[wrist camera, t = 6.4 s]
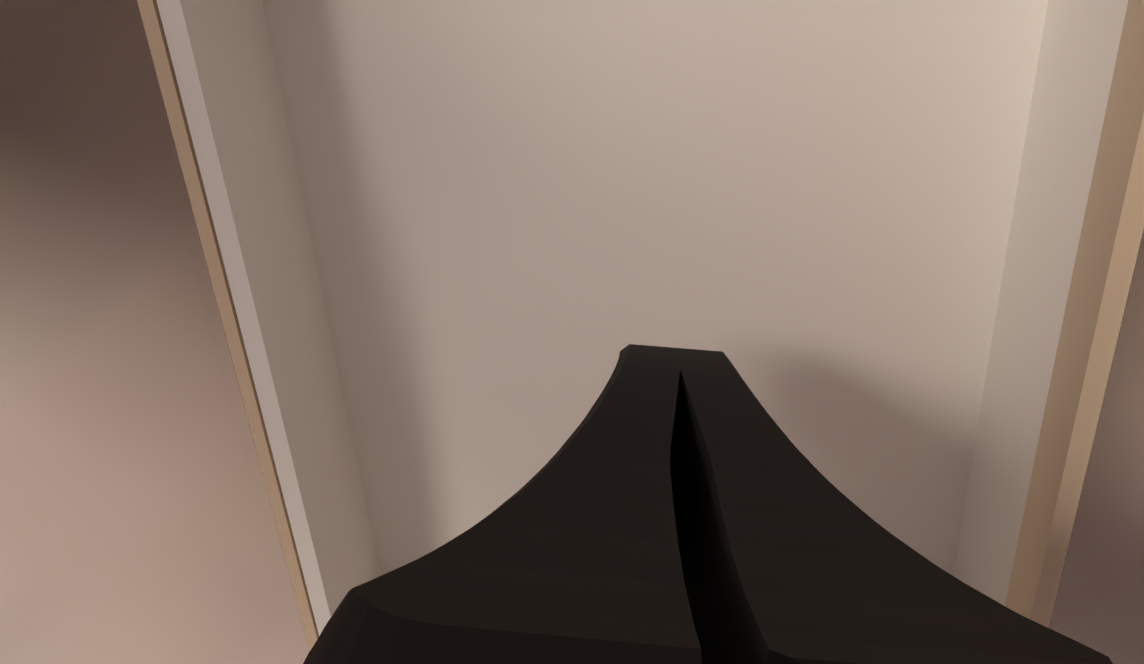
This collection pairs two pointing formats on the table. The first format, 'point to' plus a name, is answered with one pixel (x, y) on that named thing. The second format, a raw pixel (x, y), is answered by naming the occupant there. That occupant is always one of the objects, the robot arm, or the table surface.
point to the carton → (634, 242)
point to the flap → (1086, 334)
